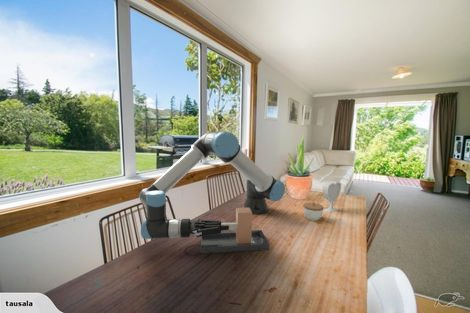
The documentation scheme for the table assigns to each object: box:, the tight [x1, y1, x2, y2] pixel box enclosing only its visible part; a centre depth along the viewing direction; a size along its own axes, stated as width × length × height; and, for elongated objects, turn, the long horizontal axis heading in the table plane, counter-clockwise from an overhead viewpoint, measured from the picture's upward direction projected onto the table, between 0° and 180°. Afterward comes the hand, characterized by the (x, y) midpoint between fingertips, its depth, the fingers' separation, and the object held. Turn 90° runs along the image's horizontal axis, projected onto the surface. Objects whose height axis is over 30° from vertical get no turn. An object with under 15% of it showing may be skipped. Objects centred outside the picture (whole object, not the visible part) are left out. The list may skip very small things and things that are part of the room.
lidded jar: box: [303, 202, 324, 222], centre depth 123 cm, size 11×11×9 cm
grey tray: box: [200, 229, 270, 254], centre depth 94 cm, size 28×13×2 cm, turn 97°
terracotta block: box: [235, 207, 253, 244], centre depth 94 cm, size 6×6×14 cm
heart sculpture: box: [322, 180, 342, 214], centre depth 137 cm, size 16×5×18 cm, turn 126°
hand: (236, 226), depth 93 cm, fingers closed
